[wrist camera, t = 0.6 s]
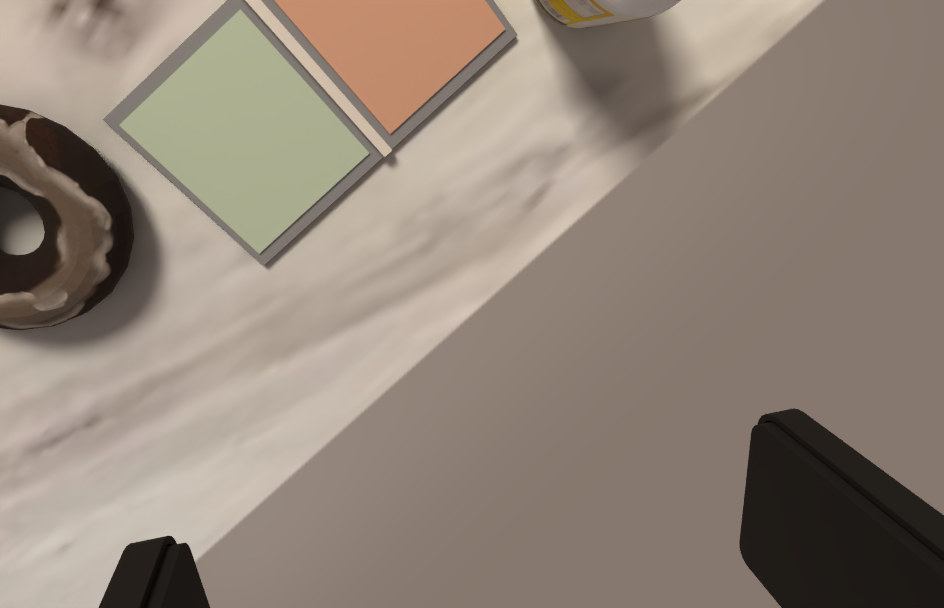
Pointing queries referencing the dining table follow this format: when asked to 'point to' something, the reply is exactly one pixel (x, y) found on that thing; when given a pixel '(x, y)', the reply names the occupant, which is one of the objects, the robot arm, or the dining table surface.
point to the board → (299, 102)
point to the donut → (60, 223)
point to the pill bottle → (601, 11)
